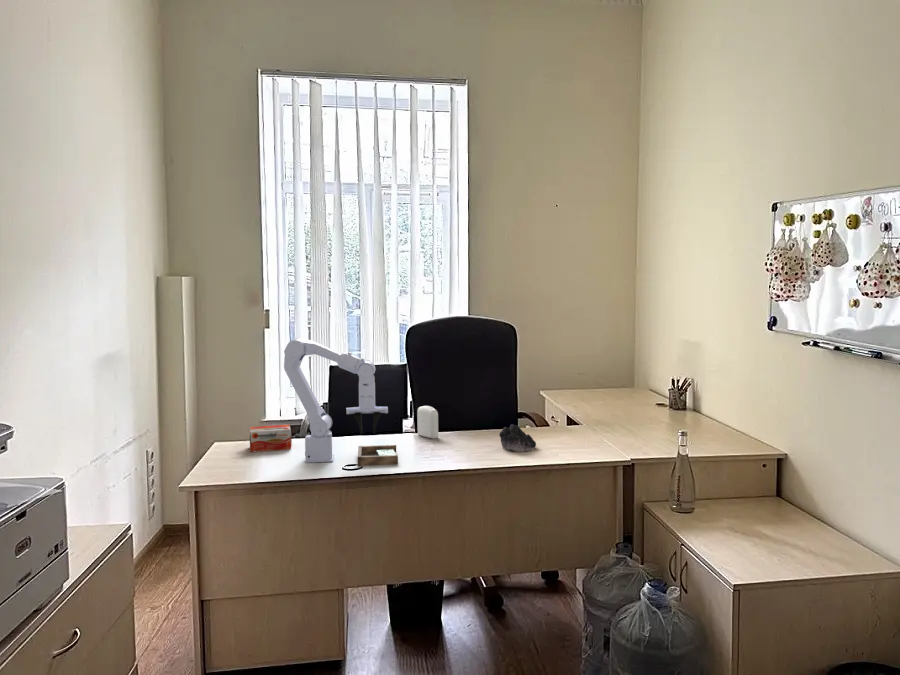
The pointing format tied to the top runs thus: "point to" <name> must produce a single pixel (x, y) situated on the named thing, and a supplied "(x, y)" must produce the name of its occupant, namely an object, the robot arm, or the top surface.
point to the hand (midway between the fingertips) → (367, 433)
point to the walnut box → (376, 459)
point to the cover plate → (385, 452)
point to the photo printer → (427, 422)
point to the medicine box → (270, 438)
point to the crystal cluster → (516, 439)
